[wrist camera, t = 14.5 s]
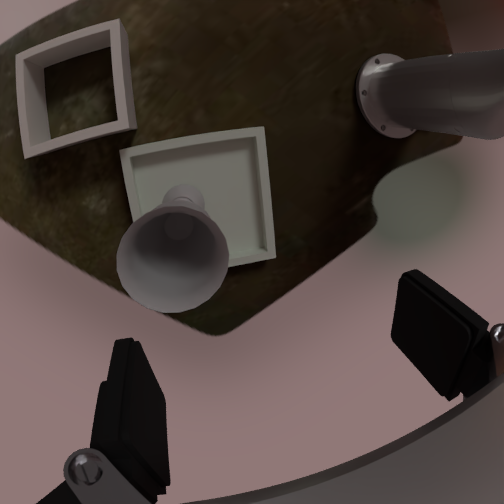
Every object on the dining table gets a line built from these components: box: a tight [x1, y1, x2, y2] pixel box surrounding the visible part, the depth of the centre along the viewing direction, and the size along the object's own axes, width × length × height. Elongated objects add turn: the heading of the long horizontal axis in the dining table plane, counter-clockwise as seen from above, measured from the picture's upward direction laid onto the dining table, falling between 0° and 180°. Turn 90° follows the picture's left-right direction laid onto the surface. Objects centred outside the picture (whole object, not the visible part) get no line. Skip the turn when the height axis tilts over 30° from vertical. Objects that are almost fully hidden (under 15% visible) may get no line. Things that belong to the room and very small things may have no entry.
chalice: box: [117, 184, 229, 313], centre depth 27 cm, size 7×7×18 cm
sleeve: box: [16, 19, 137, 159], centre depth 25 cm, size 12×12×6 cm
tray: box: [119, 127, 276, 267], centre depth 35 cm, size 16×16×2 cm
